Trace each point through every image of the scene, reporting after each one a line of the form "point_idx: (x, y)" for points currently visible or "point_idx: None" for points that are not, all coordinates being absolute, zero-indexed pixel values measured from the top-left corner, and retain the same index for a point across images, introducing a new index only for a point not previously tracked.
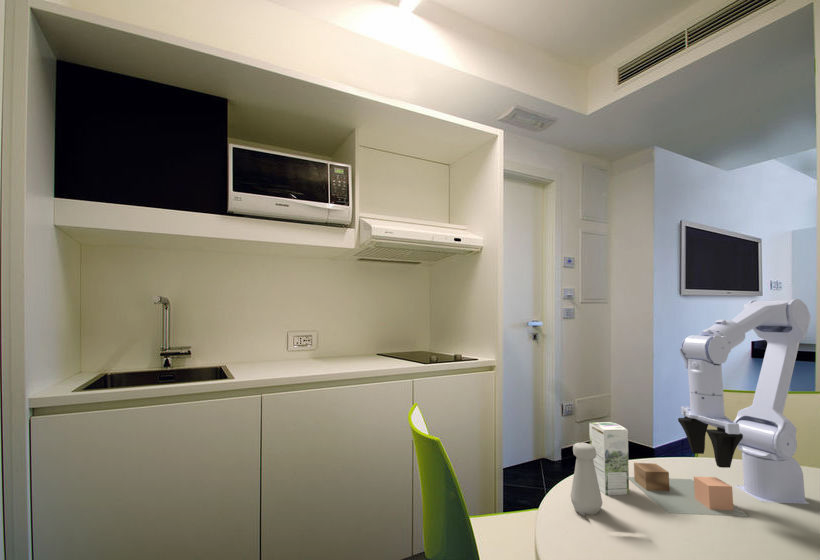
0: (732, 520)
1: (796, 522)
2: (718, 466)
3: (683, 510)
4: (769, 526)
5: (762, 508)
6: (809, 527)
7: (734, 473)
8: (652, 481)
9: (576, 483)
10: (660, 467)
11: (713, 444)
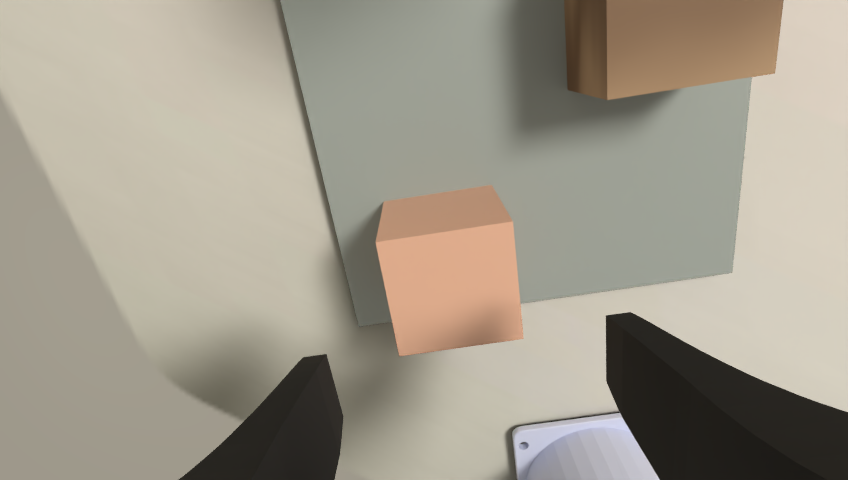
0: (331, 253)
1: (385, 451)
2: (312, 357)
3: (327, 59)
4: None
5: (477, 409)
6: (357, 466)
7: None
8: None
9: None
10: (696, 76)
11: (231, 475)
